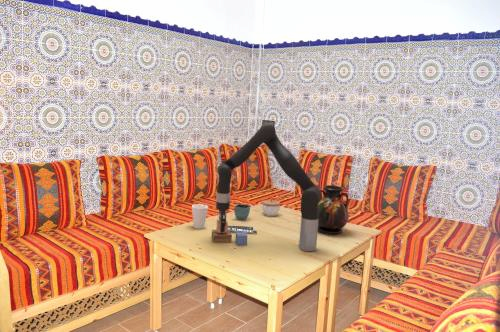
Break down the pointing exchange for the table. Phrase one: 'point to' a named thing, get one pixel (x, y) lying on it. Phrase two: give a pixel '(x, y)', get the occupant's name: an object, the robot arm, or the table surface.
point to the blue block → (241, 238)
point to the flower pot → (242, 211)
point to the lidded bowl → (270, 207)
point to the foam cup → (199, 215)
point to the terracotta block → (218, 226)
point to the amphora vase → (332, 211)
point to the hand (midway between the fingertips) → (221, 229)
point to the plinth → (221, 236)
